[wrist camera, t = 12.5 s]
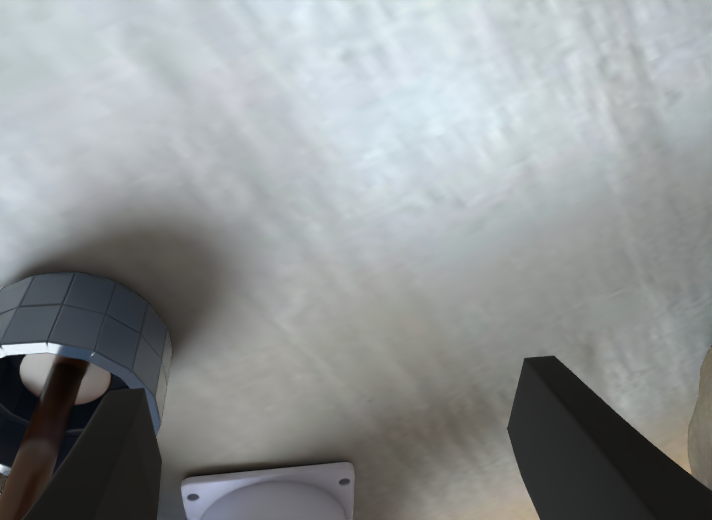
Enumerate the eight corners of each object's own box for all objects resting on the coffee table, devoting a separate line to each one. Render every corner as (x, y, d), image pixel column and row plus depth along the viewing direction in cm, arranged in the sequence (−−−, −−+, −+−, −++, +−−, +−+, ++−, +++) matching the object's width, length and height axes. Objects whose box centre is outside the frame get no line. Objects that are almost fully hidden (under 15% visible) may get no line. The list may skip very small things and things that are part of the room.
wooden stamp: (126, 370, 23) (76, 581, 17) (44, 376, 23) (-42, 595, 16) (111, 309, 22) (47, 516, 15) (21, 315, 21) (-84, 530, 15)
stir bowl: (183, 392, 25) (172, 474, 22) (12, 405, 24) (-25, 493, 21) (158, 259, 21) (141, 334, 18) (-44, 270, 21) (-101, 351, 17)
